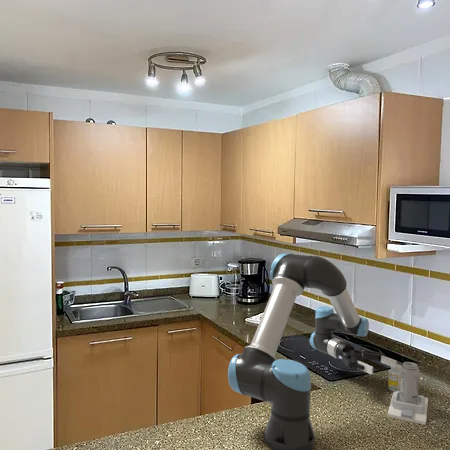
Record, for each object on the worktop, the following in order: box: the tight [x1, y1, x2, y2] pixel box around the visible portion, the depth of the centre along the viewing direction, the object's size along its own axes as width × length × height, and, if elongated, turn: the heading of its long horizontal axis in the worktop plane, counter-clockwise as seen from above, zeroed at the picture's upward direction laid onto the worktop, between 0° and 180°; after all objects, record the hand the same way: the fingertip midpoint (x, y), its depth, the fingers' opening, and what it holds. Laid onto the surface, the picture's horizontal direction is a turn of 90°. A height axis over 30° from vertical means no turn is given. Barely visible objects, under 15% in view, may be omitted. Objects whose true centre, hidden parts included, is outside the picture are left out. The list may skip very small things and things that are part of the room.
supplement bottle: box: [387, 363, 402, 392], centre depth 175 cm, size 5×5×10 cm
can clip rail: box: [387, 391, 429, 426], centre depth 158 cm, size 21×12×4 cm, turn 154°
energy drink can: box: [400, 361, 420, 405], centre depth 158 cm, size 6×6×15 cm
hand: (384, 367), depth 164 cm, fingers open, 13 cm apart
